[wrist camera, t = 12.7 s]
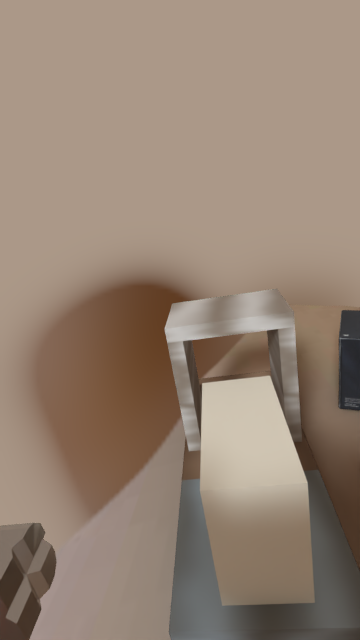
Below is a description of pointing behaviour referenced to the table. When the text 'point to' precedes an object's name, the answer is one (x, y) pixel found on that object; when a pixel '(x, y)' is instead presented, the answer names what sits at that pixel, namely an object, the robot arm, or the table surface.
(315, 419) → the table surface
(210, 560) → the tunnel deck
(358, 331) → the small box
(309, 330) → the table surface
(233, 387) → the cream block
